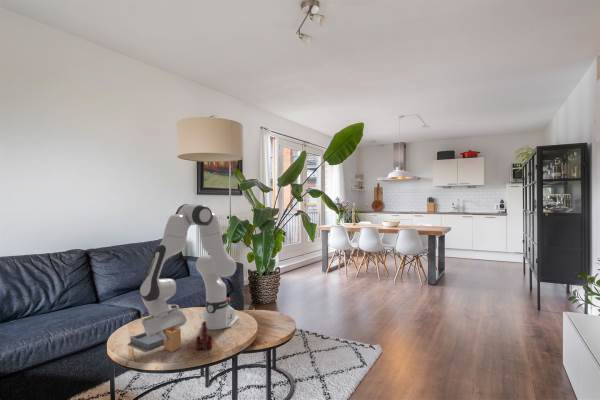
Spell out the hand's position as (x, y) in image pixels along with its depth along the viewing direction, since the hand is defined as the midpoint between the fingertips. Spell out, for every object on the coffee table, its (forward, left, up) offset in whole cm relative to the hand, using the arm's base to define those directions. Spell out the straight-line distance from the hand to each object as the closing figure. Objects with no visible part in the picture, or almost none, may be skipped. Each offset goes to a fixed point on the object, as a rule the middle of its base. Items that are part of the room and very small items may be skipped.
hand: (173, 337), depth 164 cm
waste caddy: (0, -1, -5) cm, 5 cm away
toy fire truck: (-7, +12, -6) cm, 15 cm away
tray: (-4, -16, -5) cm, 18 cm away
